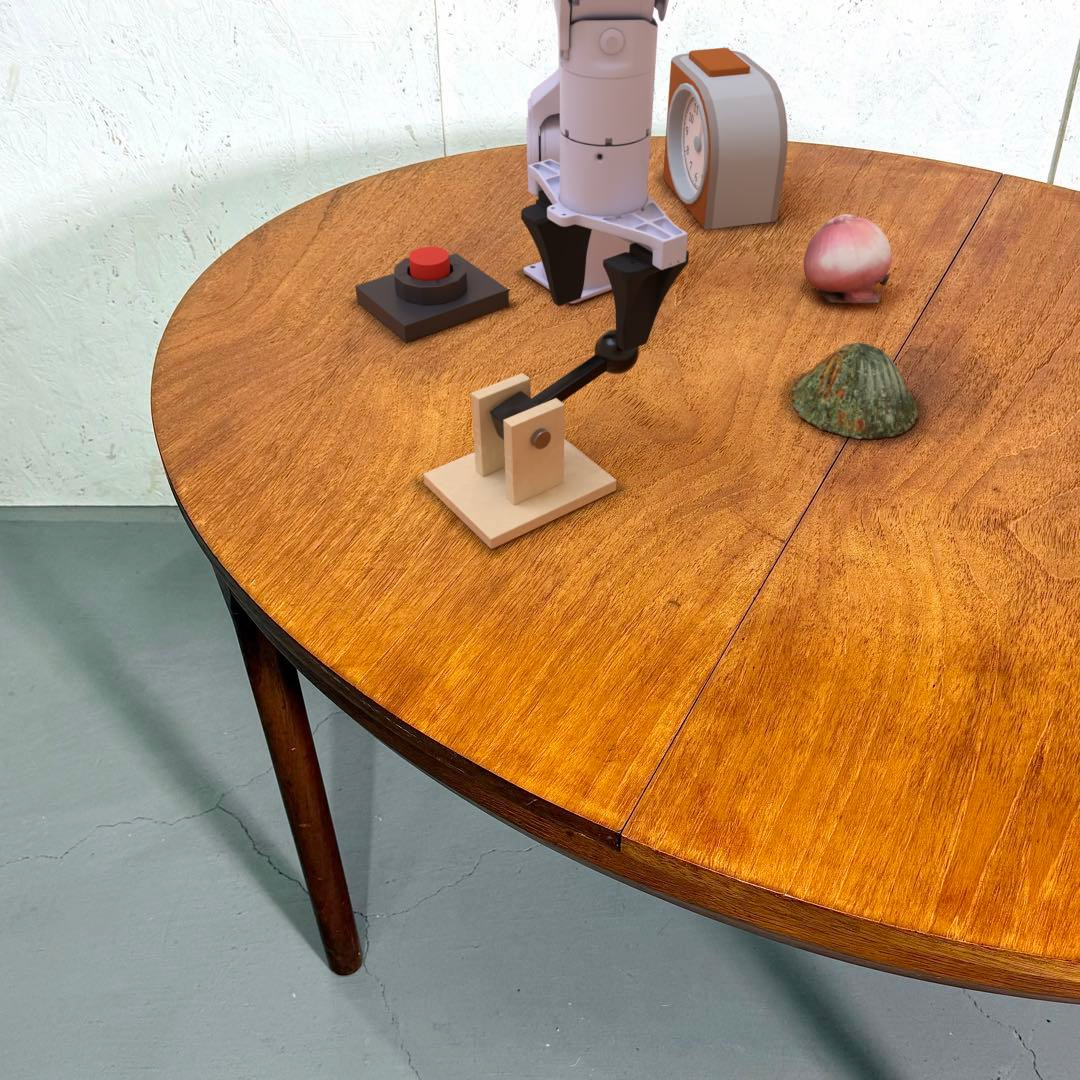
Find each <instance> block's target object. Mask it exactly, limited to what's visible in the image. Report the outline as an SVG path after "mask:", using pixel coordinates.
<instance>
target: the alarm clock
mask: <svg viewBox="0 0 1080 1080" xmlns="http://www.w3.org/2000/svg"><path fill="white" fill-rule="evenodd" d="M669 69H670V70H669V86H668V97H667V99H668V100H667V114H666V127H665V143H664V157H663V171H662V178H663V180H664V182H665V183H666V184H667V185H668V187H669V188H670V190H672V192H673V193H674V194H675V195H676V196H677V198H678V199H679V200H680V201H681V203H682V204H683V205H684V207H685V208H686V209H687V210H688V211H689V212H690V213H691V215H692V216H693V217H694V218H695V220H696V221H697V222H698V223H699V225H700V226H701V227H702V228H703V230H704V231H705V230H706V231H709V230H715V229H723V228H731V227H739V226H749V225H757V224H765V223H766V224H767V223H773V222H777V221H778V218H779V212H780V204H781V200H782V199H781V198H782V192H783V184H784V178H785V171H786V164H787V157H788V156H787V155H788V145H789V140H788V139H789V138H788V137H789V134H788V121H787V113H786V106H785V103H784V99H783V95H782V92H781V89H780V87H779V86H778V83H777V82H776V80H775V79H774V77H772V75H771V74H770V73H769V72H768V71H766V70H765V69H764V68H763V67H761V66H760V65H759V64H758V63H757V62H755V61H754V60H753V59H752V58H750V57H749V56H748V55H747V54H745V53H744V52H740V51H737V50H731V49H730V48H728V47H717V48H706V49H695V50H690V51H689V52H688V53H681V54H676V55H674V56H673V57H672V58H671V60H670V68H669Z"/></svg>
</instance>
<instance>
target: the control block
mask: <svg viewBox="0 0 1080 1080" xmlns="http://www.w3.org/2000/svg"><path fill="white" fill-rule="evenodd" d="M449 261H450V275H449V276H448V277H445V278H442V279H439V280H433V281H422V280H418V279H413V278H412V277H411V274H410V264H409V256H408V257H405V258H404V259H402V260H401V261H399V262H398V263H397V264H396V265H395V266H394V268H393V273H391V274H388V275H384V276H381V277H378V278H375V279H372V280H368V281H365V282H363V283H360V284H357V285H355V295H356V302H357V303H358V304H359V305H360V306H361V307H363V308H364V309H365V310H366V311H367V312H368V313H370V314H371V315H372V316H374V318H376V319H377V320H378V321H380V322H381V323H382V324H383V325H384V326H385V327H386V328H388V329H389V330H390V331H391V332H393V333H394V334H395V335H396V336H397V337H398V338H400V339H401V340H402V341H403V342H404V343H406V344H407V343H409V342H413V341H415V340H418V339H420V338H424V337H426V336H429V335H431V334H435V333H437V332H440V331H443V330H446V329H448V328H452V327H454V326H456V325H457V326H458V325H460V324H463V323H465V322H468V321H471V320H474V319H476V318H478V317H482V316H485V315H488V314H490V313H493V312H496V311H498V310H501V309H505V308H507V307H510V291H509V288H507V287H506V286H504V285H502V284H501V282H498V281H497V280H496V279H494V278H493V277H491V276H490V275H489V274H487V273H486V272H485V271H483V270H481V269H480V268H479V267H477V266H476V265H474V264H473V263H471V262H470V261H468V260H467V259H465V258H464V257H462V256H461V255H460V254H459V253H452V254H449Z"/></svg>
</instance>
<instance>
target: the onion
mask: <svg viewBox="0 0 1080 1080" xmlns="http://www.w3.org/2000/svg"><path fill="white" fill-rule="evenodd" d="M892 261H893V252H892V247H891V244H890V242H889V240H888V238H887V236H886V234H885V233H884V231H883V230H882V229H881V228H880V227H879V226H878V225H877V224H876V223H874V222H873V221H871V220H869V219H866V218H865V217H864V218H863V217H858V216H857V215H854V214H849V213H843V214H840V215H837V216H834V217H832V218H830V219H829V220H828V221H826V222H825V223H824V225H822V227H821V228H820V229H818V230H817V231H816V232H815V233H814V234H813V236H812V237H811V238H810V240H809V242H808V244H807V246H806V250H805V253H804V259H803V272H804V276H805V278H806V280H807V281H808V283H809V284H810V285H811V286H812V287H813V288H814V289H816V290H817V292H818V293H819V294H820V295H821V296H822V297H823V298H824V299H825V300H827V302H829V303H833V304H834V303H835V304H878V303H879V301H880V299H881V297H882V294H883V292H884V287H886V284H887V283H888V281H889V279H890V277H891V274H892V273H891V272H889V271H890V268H891V265H892ZM878 284H879V285H880V286H881V290H880V291H874V288H875V287H876V285H878Z"/></svg>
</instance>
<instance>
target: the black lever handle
mask: <svg viewBox="0 0 1080 1080" xmlns="http://www.w3.org/2000/svg"><path fill="white" fill-rule="evenodd" d="M594 346H595V347H594V350H593V351H594V353H593V355H592V356H591V357H590V358H588V359H587V360H585V361H584V362H582V363H580V364H579V365H577V366H576V367H575V368H574V369H572V370H570V371H569V372H567V373H566V374H565V375H563V376H562V377H561V378H559V379H557V380H556V381H554V382H553V383H551V384H550V385H549V386H547V387H546V388H544V389H542V390H541V391H540V392H538V393H537V394H535V395H534V396H533V397H531V398H530V397H529V396H527V395H526V394H525V393H523V392H522V391H519V392H518V393H516V394H515V395H513V396H512V397H510V398H509V399H507V400H506V401H504V402H503V403H501V404H500V405H499V406H497V407H496V408H494V409H493V410H491V411H490V414H491V417H492V420H493V423H494V426H495V429H496V431H497V434H498V436H499V437H501V438H502V439H503V440H504V421H503V420H504V419H507V418H509V417H512V416H514V415H516V414H519V413H521V412H524V411H526V410H528V409H531V408H533V407H536V406H538V405H541V404H543V403H545V402H548V401H550V400H553V399H555V398H557V399H558V400H559V401H561V402H562V403H563V402H564V401H565V400H567V399H568V398H570V397H571V396H573V395H574V394H576V393H577V392H578V391H580V390H582V389H583V388H585V387H586V386H587V385H588V384H590V383H591V382H593V381H594V380H596V379H597V378H599V377H600V376H601V375H603V374H605V373H608V374H611V375H622V374H625V373H627V372H629V371H631V370H632V369H634V367H635V365H636V364H637V362H638V359H639V358H640V357H639V356H640V346H639V347H636V348H634V349H631V350H629V351H623V350H622V349H620V348H619V346H618V342H617V337H616V328H613V329H610V330H607V331H605V332H604V333H602V335H600V336H599V337H598V338H597V341H596V343H595V345H594Z"/></svg>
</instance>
